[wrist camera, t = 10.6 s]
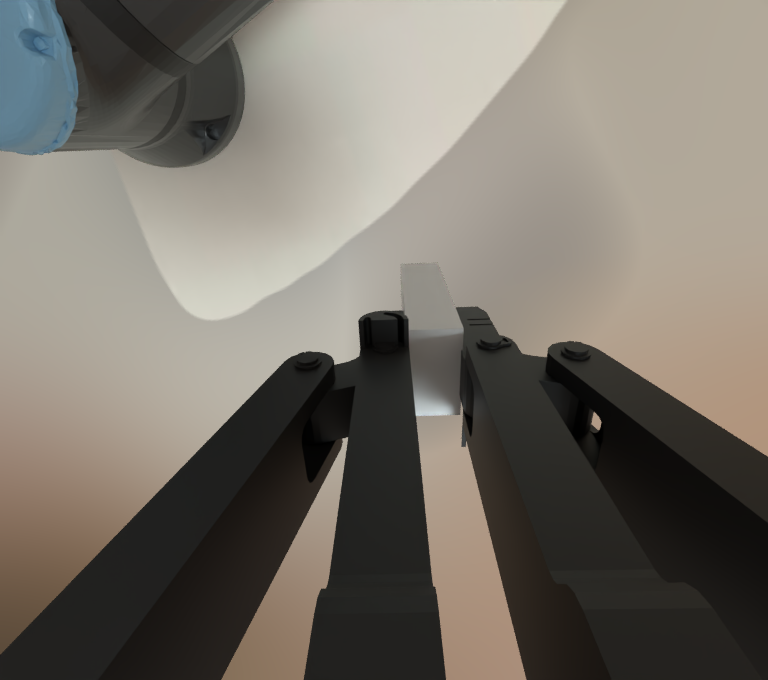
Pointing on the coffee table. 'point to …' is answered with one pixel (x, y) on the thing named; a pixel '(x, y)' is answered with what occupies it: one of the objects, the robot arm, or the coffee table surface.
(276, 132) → the coffee table surface
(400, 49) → the coffee table surface
